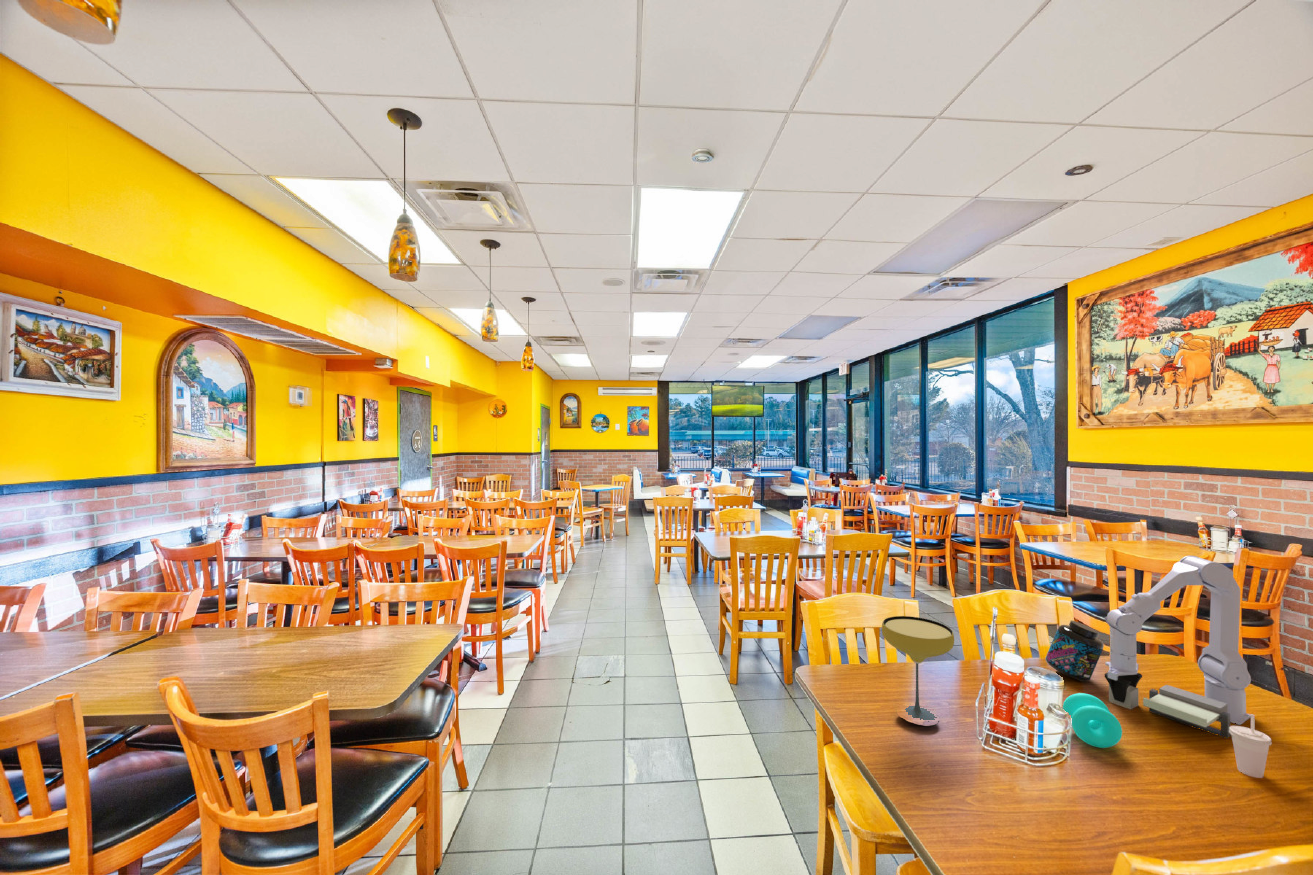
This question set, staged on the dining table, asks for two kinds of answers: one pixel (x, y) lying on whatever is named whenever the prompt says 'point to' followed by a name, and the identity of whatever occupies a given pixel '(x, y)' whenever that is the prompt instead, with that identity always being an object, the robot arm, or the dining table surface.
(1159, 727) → the dining table surface
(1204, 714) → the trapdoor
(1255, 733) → the smoothie
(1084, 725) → the teal yo-yo
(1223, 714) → the frame
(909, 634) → the cocktail glass
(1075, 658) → the container
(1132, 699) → the grey cube
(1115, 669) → the robot arm
